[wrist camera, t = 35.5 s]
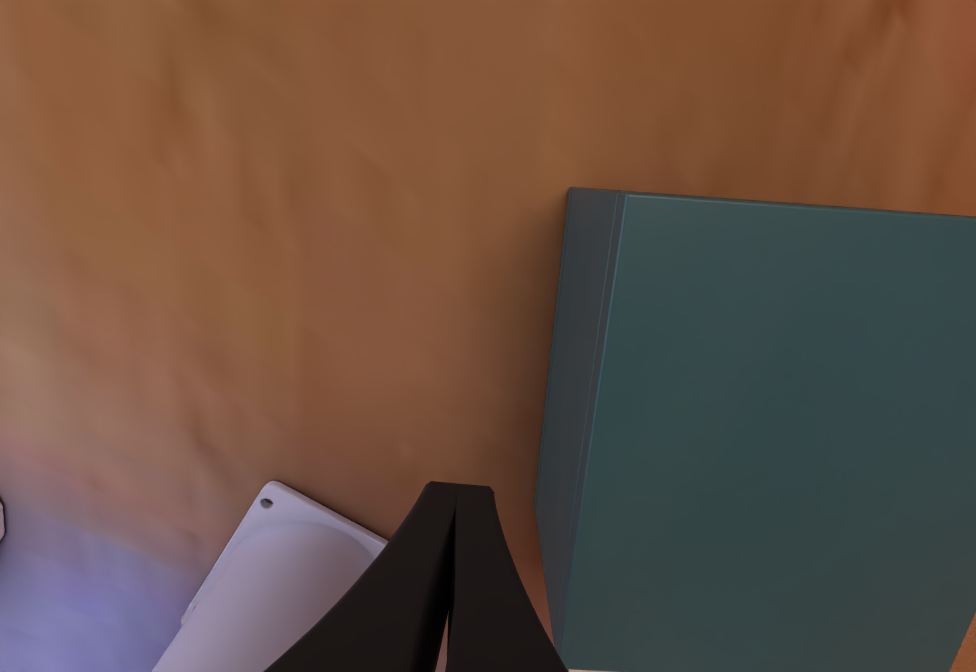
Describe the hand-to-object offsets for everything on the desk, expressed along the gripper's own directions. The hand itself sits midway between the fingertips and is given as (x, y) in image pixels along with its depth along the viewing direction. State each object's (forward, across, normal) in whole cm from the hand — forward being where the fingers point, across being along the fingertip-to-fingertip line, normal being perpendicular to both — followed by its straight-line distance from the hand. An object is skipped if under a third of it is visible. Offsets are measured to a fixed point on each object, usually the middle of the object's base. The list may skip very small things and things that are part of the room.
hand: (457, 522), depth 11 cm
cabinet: (+11, -9, 0) cm, 14 cm away
